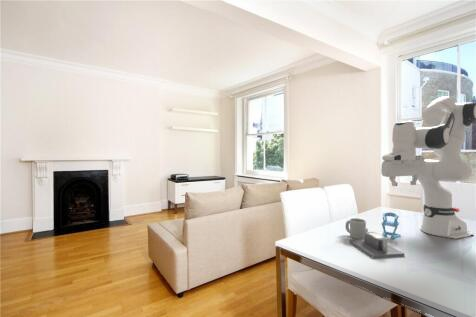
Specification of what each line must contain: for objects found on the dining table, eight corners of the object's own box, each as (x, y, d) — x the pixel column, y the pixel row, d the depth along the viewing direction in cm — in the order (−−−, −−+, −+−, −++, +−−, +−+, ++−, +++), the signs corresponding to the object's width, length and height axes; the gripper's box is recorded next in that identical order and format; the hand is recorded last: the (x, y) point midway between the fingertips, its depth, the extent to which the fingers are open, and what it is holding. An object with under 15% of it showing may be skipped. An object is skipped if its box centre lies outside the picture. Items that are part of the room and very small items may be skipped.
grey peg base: (376, 240, 115) (376, 226, 115) (404, 256, 98) (404, 239, 98) (349, 242, 113) (349, 227, 113) (373, 258, 96) (373, 241, 96)
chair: (379, 237, 120) (379, 213, 120) (383, 232, 126) (383, 210, 126) (397, 240, 115) (397, 216, 114) (400, 236, 121) (400, 213, 120)
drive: (373, 242, 110) (373, 231, 110) (387, 250, 101) (387, 238, 101) (364, 242, 110) (364, 231, 110) (377, 250, 101) (377, 239, 101)
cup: (361, 241, 114) (361, 223, 114) (342, 235, 122) (342, 218, 122) (368, 238, 119) (368, 220, 118) (349, 232, 127) (349, 216, 126)
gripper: (418, 154, 113) (418, 183, 114) (378, 156, 111) (379, 185, 112) (430, 155, 107) (430, 185, 107) (388, 157, 105) (389, 187, 105)
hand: (404, 185), depth 110 cm, fingers open, 8 cm apart
